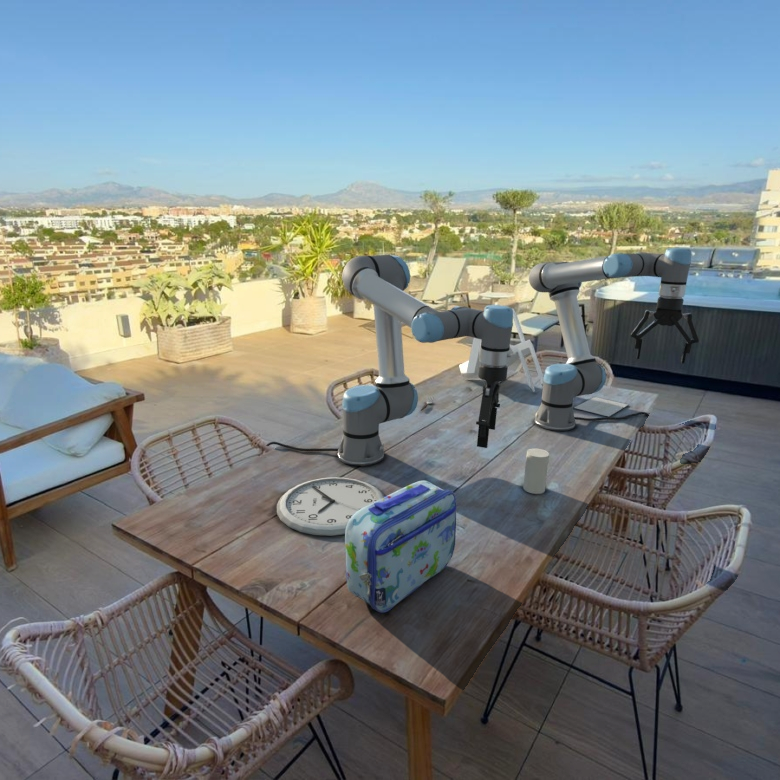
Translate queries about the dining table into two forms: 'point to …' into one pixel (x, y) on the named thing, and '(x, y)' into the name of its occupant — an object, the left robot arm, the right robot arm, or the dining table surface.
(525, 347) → the white plastic object
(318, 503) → the wall clock
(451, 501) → the lunch box
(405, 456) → the dining table surface
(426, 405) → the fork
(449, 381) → the dining table surface
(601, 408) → the invitation card
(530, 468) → the canister
